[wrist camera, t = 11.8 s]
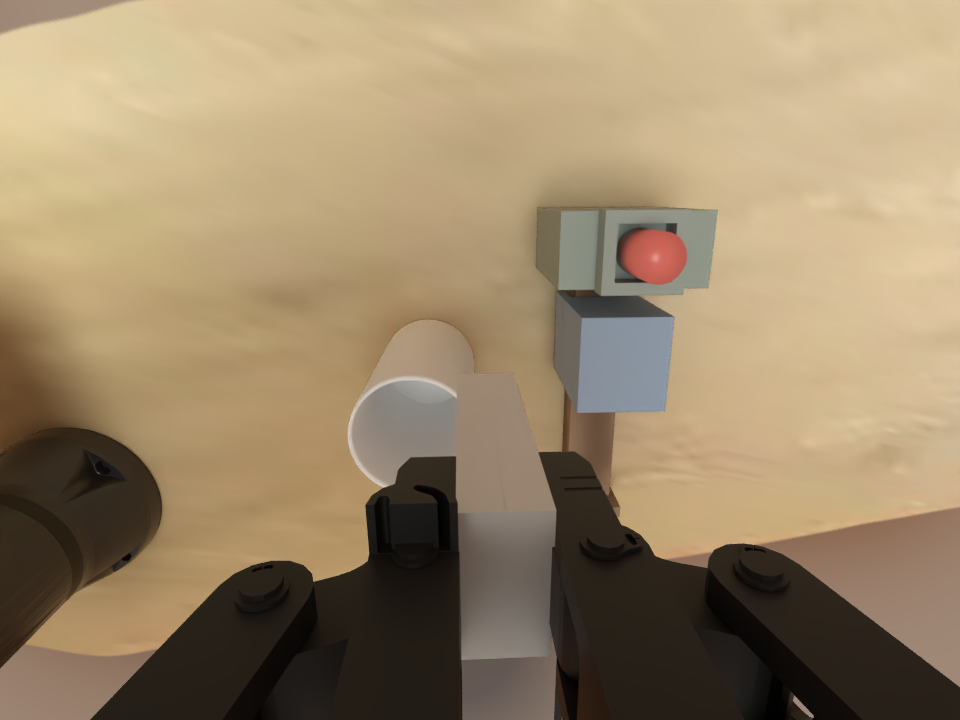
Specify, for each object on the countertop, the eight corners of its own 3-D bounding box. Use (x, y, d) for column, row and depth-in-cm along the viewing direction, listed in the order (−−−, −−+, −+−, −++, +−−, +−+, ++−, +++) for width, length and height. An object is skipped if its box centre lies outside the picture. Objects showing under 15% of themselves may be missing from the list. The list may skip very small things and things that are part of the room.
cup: (488, 341, 49) (498, 407, 33) (452, 417, 51) (446, 512, 35) (404, 304, 47) (374, 356, 32) (371, 384, 50) (328, 468, 34)
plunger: (614, 275, 34) (632, 285, 31) (617, 227, 34) (636, 231, 30) (660, 274, 35) (684, 284, 31) (664, 227, 34) (689, 231, 30)
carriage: (554, 367, 49) (577, 412, 39) (556, 291, 47) (581, 318, 37) (623, 366, 49) (664, 411, 39) (628, 290, 47) (674, 317, 37)
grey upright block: (536, 268, 47) (563, 296, 34) (537, 206, 45) (566, 210, 32) (658, 267, 47) (733, 294, 34) (663, 205, 45) (744, 209, 32)
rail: (555, 488, 53) (564, 517, 48) (563, 278, 47) (575, 287, 42) (605, 488, 53) (619, 516, 48) (620, 277, 47) (637, 286, 42)
